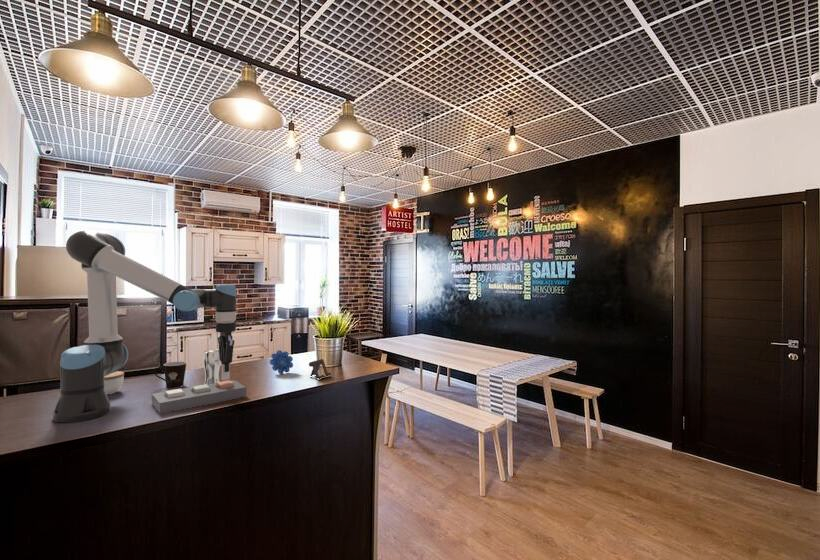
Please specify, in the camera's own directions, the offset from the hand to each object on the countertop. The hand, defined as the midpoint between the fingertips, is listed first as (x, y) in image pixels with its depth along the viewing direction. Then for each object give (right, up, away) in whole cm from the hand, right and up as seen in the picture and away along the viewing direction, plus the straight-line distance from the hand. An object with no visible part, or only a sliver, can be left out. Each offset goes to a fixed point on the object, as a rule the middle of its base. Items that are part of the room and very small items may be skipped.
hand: (225, 379), depth 156 cm
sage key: (-7, -4, -6) cm, 10 cm away
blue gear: (+11, -7, +36) cm, 38 cm away
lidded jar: (-49, -6, +1) cm, 50 cm away
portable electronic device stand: (+31, -7, +30) cm, 44 cm away
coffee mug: (-30, -7, +12) cm, 33 cm away
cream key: (-13, -4, -13) cm, 19 cm away
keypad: (-7, -7, -6) cm, 11 cm away
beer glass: (-14, -7, +17) cm, 23 cm away
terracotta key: (0, -4, 0) cm, 4 cm away
